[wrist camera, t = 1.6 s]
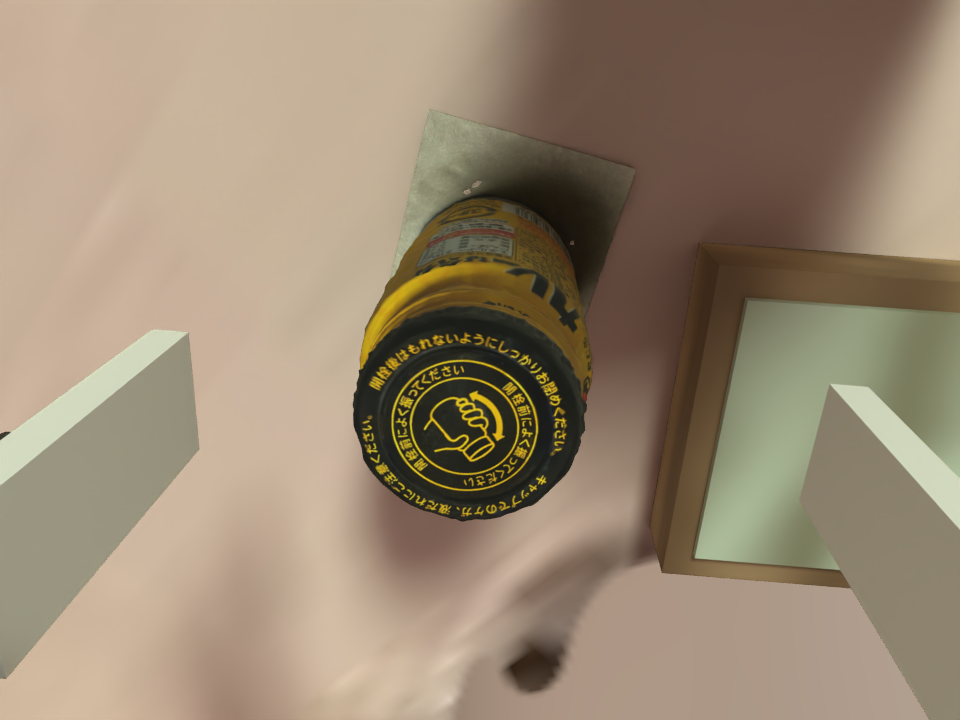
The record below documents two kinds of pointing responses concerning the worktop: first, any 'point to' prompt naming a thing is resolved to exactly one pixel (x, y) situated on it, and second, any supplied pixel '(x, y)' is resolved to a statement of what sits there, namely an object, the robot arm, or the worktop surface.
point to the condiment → (486, 321)
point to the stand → (792, 396)
